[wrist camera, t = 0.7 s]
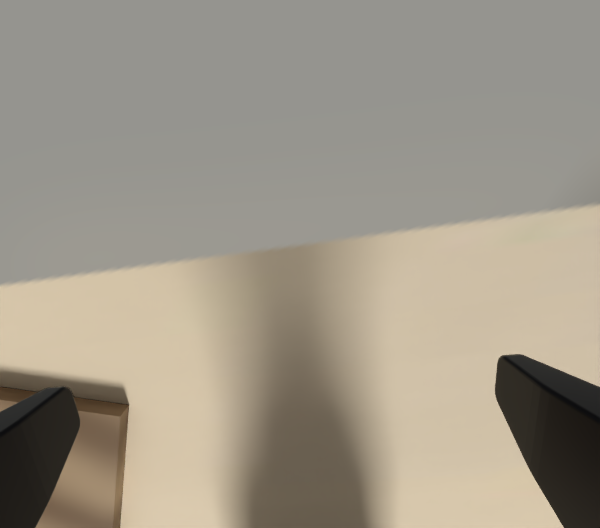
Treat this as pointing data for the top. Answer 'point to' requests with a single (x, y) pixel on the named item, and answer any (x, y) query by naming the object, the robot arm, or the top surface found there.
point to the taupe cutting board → (87, 466)
